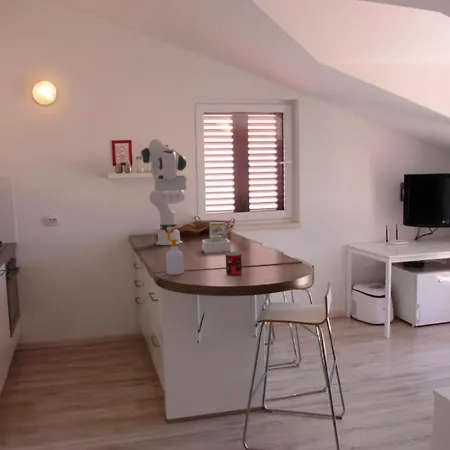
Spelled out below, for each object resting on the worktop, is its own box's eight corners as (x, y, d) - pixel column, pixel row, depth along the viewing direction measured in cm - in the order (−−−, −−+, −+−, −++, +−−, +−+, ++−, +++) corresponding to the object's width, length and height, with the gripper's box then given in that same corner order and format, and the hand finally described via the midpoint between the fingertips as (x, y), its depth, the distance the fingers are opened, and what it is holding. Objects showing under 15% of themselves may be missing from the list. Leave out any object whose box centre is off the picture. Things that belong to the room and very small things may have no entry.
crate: (202, 250, 362) (202, 239, 361) (226, 248, 364) (226, 238, 363) (205, 253, 348) (205, 242, 347) (230, 252, 350) (230, 241, 350)
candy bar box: (209, 247, 372) (208, 223, 370) (210, 246, 377) (209, 222, 375) (226, 247, 371) (225, 222, 369) (226, 246, 376) (226, 222, 374)
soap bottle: (185, 273, 289) (183, 227, 286) (168, 275, 287) (166, 228, 284) (182, 270, 298) (180, 225, 295) (165, 272, 295) (163, 226, 292)
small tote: (210, 249, 358) (210, 235, 357) (220, 248, 359) (219, 235, 358) (212, 250, 352) (211, 236, 351) (221, 250, 353) (221, 236, 352)
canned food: (225, 273, 288) (224, 252, 286) (240, 272, 288) (240, 251, 287) (226, 276, 280) (226, 254, 279) (242, 275, 281) (242, 254, 279)
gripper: (185, 175, 358) (186, 196, 360) (153, 176, 355) (154, 198, 357) (186, 175, 352) (187, 197, 354) (154, 176, 349) (155, 198, 351)
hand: (170, 197), depth 355 cm, fingers open, 8 cm apart
